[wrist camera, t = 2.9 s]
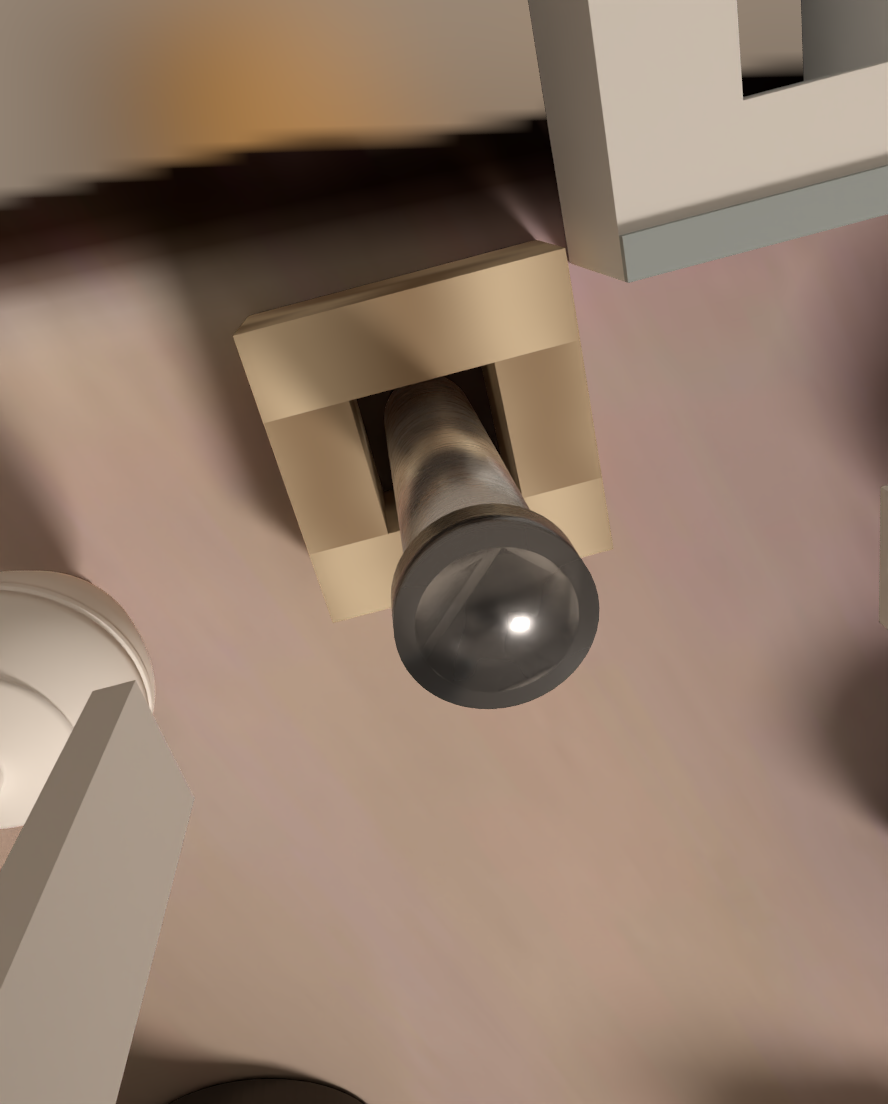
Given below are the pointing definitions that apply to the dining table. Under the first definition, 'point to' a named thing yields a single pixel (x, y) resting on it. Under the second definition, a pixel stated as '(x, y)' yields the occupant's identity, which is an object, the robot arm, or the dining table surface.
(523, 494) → the mount
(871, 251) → the dining table surface
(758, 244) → the socket
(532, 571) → the pin
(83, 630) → the spinning top
